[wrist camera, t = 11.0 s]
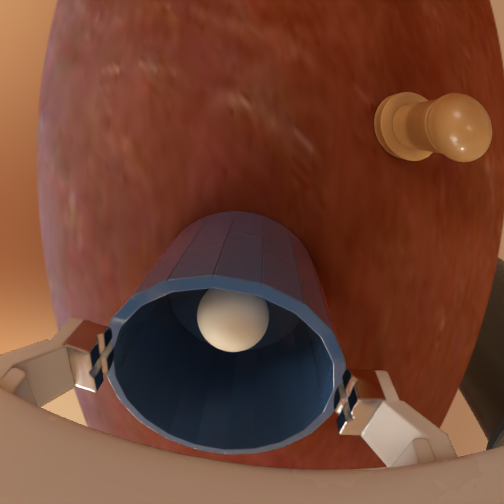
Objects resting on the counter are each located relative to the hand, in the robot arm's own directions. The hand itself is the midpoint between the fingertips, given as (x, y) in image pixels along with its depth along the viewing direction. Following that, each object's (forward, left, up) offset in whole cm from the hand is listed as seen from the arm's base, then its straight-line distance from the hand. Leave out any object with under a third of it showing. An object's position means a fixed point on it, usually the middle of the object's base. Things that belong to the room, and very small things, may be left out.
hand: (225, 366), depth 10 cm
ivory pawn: (0, 0, -10) cm, 10 cm away
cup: (0, +2, -10) cm, 10 cm away
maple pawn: (-8, -10, -10) cm, 16 cm away
